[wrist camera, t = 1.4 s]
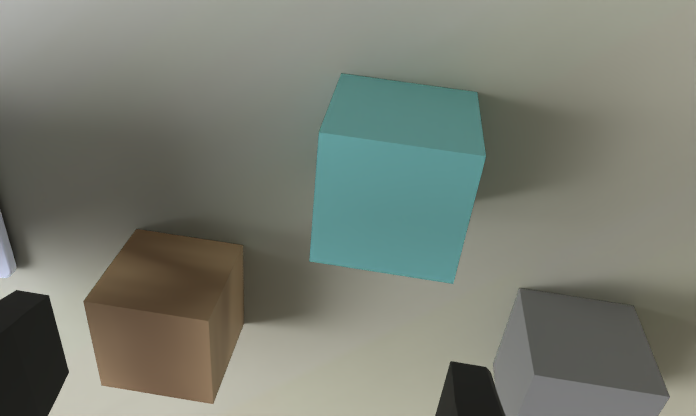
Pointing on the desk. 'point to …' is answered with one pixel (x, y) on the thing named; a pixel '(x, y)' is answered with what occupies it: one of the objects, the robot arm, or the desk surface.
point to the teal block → (396, 177)
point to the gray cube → (576, 359)
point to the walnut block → (168, 315)
